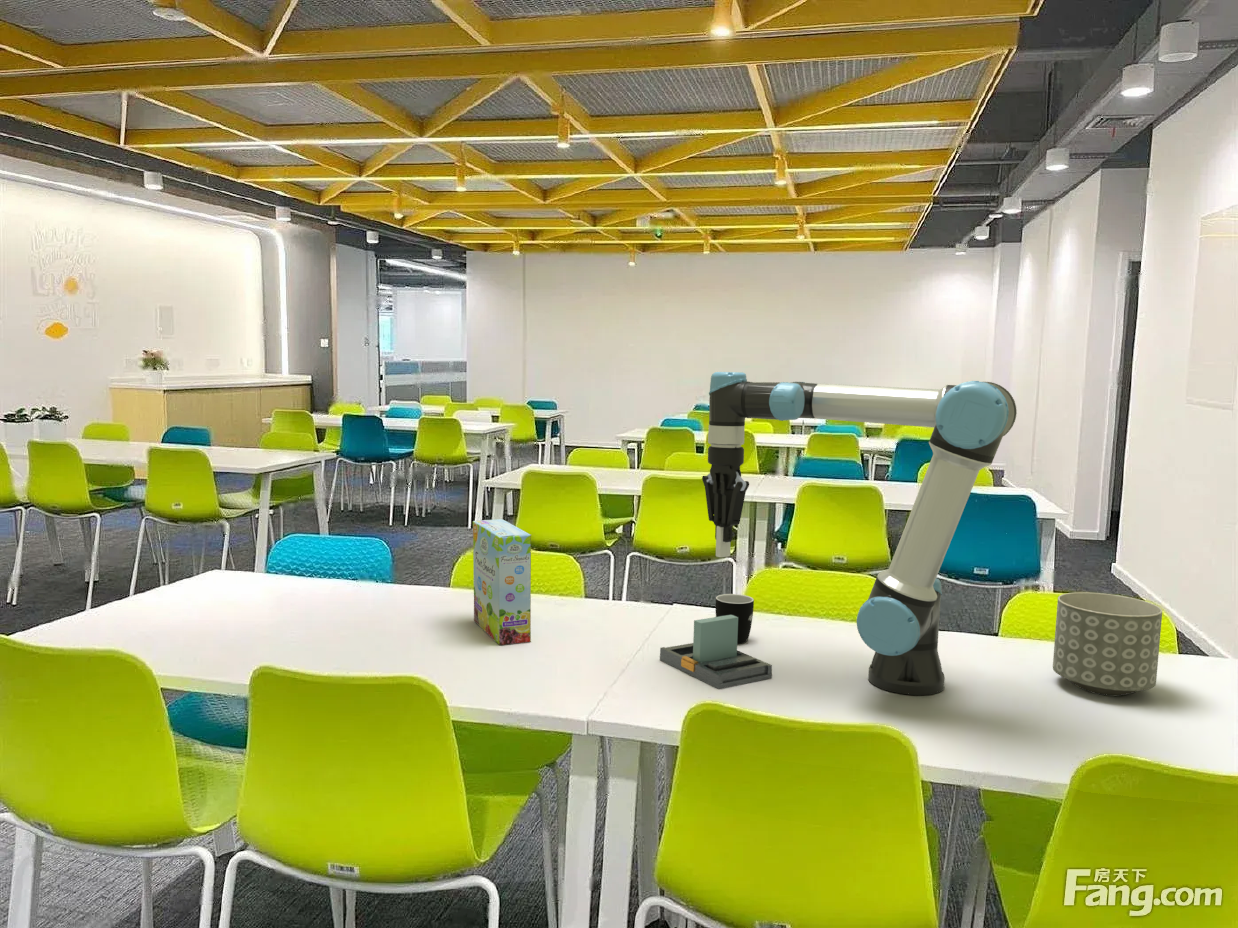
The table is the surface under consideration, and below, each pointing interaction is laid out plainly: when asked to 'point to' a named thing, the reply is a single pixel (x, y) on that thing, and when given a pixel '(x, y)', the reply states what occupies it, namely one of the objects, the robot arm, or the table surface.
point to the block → (715, 638)
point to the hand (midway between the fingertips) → (722, 556)
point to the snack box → (502, 581)
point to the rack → (717, 667)
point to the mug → (737, 612)
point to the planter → (1107, 642)
